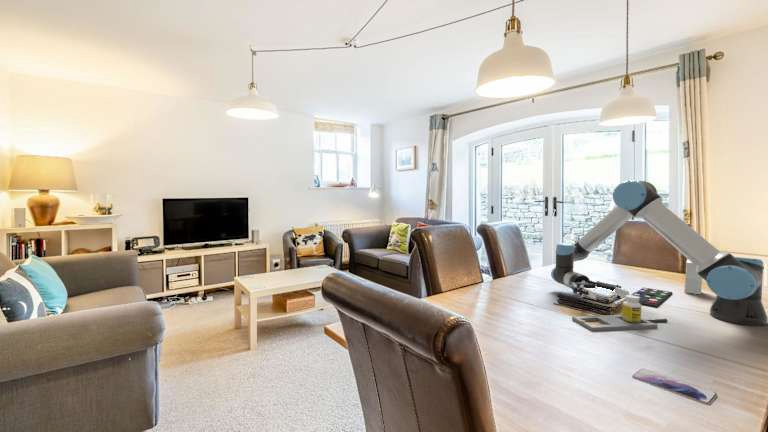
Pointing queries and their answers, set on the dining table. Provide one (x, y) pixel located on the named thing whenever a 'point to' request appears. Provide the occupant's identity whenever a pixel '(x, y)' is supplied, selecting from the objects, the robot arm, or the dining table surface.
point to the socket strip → (615, 323)
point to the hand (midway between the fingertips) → (611, 295)
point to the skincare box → (692, 279)
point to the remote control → (652, 296)
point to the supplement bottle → (631, 310)
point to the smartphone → (676, 386)
